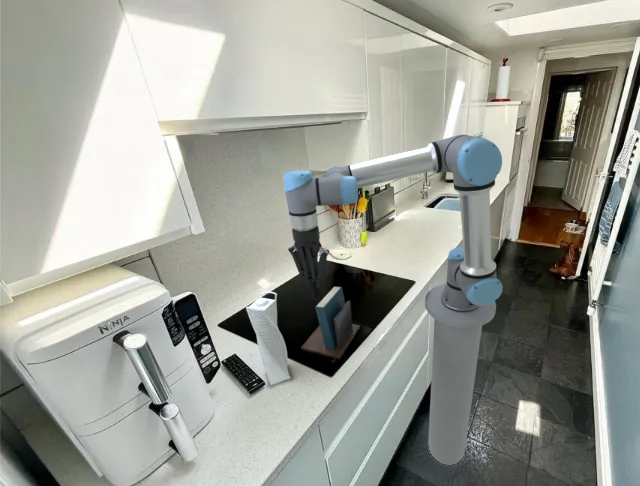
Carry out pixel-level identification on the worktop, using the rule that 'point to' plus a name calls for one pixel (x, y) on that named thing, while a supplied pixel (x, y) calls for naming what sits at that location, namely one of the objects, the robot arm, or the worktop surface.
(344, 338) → the book rest
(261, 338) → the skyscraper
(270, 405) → the worktop surface
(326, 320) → the book
